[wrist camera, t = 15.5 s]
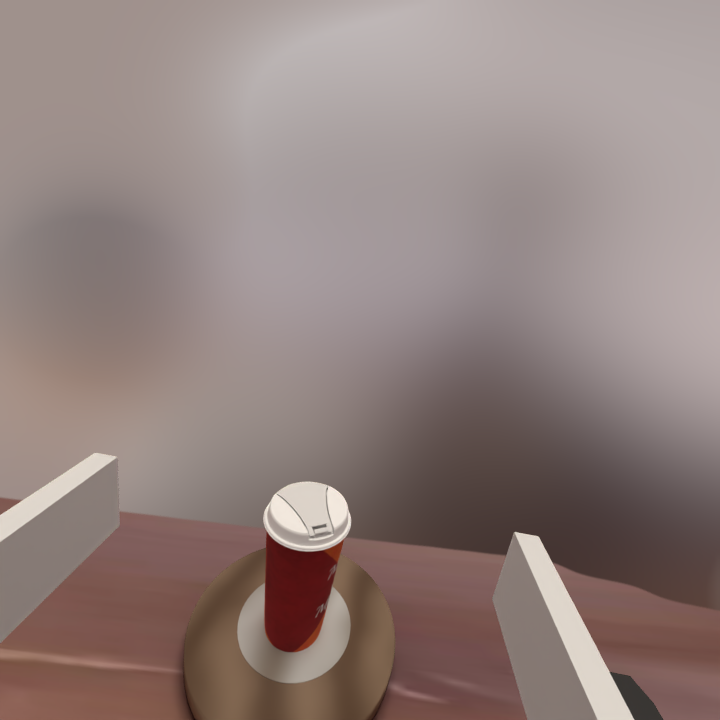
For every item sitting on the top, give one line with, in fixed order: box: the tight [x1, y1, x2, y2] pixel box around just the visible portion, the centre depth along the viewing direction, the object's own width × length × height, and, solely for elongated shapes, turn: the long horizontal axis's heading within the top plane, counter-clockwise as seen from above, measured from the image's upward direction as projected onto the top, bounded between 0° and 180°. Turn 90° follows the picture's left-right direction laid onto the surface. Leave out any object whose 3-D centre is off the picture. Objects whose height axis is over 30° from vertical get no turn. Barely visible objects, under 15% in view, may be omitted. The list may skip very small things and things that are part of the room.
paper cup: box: [264, 482, 351, 652], centre depth 34 cm, size 8×8×14 cm
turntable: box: [183, 548, 395, 720], centre depth 37 cm, size 20×20×2 cm
